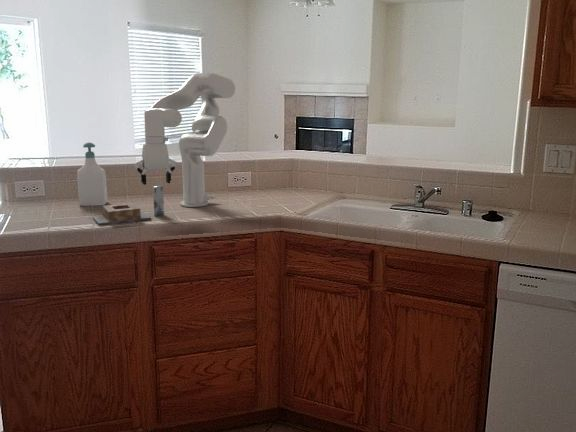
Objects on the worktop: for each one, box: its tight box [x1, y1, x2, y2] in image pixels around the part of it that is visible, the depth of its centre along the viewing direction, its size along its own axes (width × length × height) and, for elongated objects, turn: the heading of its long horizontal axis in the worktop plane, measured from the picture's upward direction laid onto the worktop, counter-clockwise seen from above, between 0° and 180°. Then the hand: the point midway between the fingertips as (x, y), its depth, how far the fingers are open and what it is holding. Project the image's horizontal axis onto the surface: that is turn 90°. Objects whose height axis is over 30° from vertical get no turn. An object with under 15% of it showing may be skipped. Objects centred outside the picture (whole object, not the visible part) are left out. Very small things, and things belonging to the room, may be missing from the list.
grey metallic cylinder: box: [152, 185, 165, 218], centre depth 222 cm, size 4×4×12 cm
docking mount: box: [92, 202, 152, 227], centre depth 216 cm, size 20×12×5 cm, turn 119°
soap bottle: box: [76, 141, 109, 207], centre depth 242 cm, size 11×8×27 cm
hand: (156, 183), depth 220 cm, fingers open, 9 cm apart
